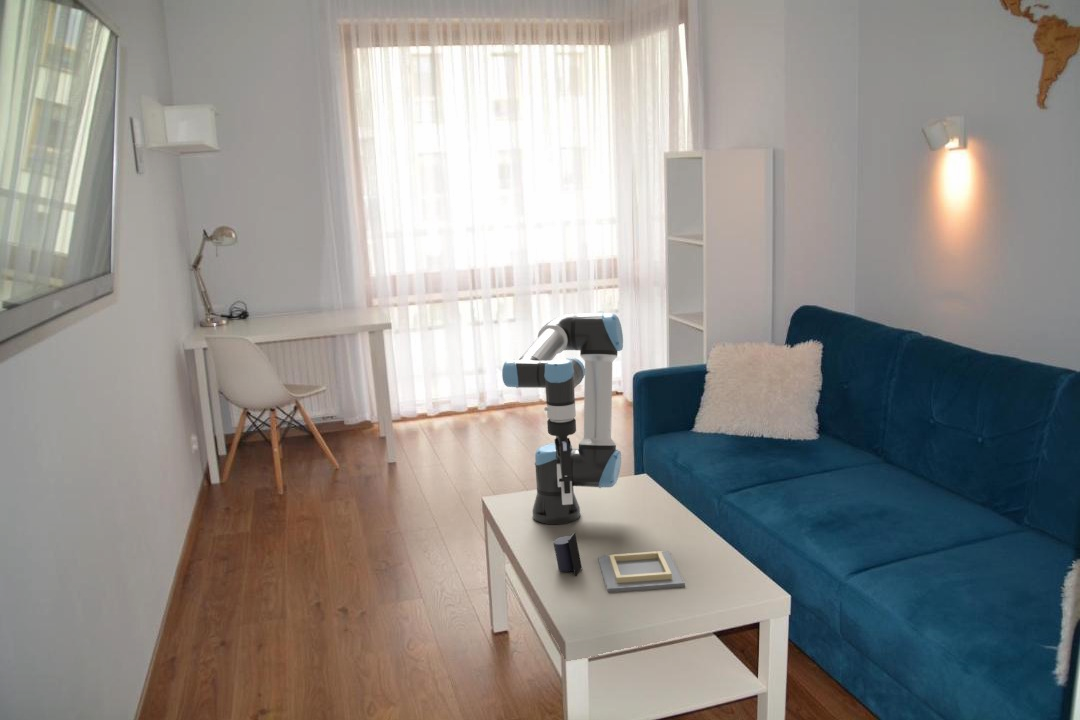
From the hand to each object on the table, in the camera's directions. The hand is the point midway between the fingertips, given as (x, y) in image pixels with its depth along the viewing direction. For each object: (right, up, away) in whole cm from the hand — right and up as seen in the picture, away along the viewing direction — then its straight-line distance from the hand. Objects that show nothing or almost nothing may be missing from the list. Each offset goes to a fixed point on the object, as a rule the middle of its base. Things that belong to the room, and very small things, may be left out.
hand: (565, 495), depth 231 cm
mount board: (+20, -21, 0) cm, 29 cm away
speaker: (+1, -21, +4) cm, 22 cm away
